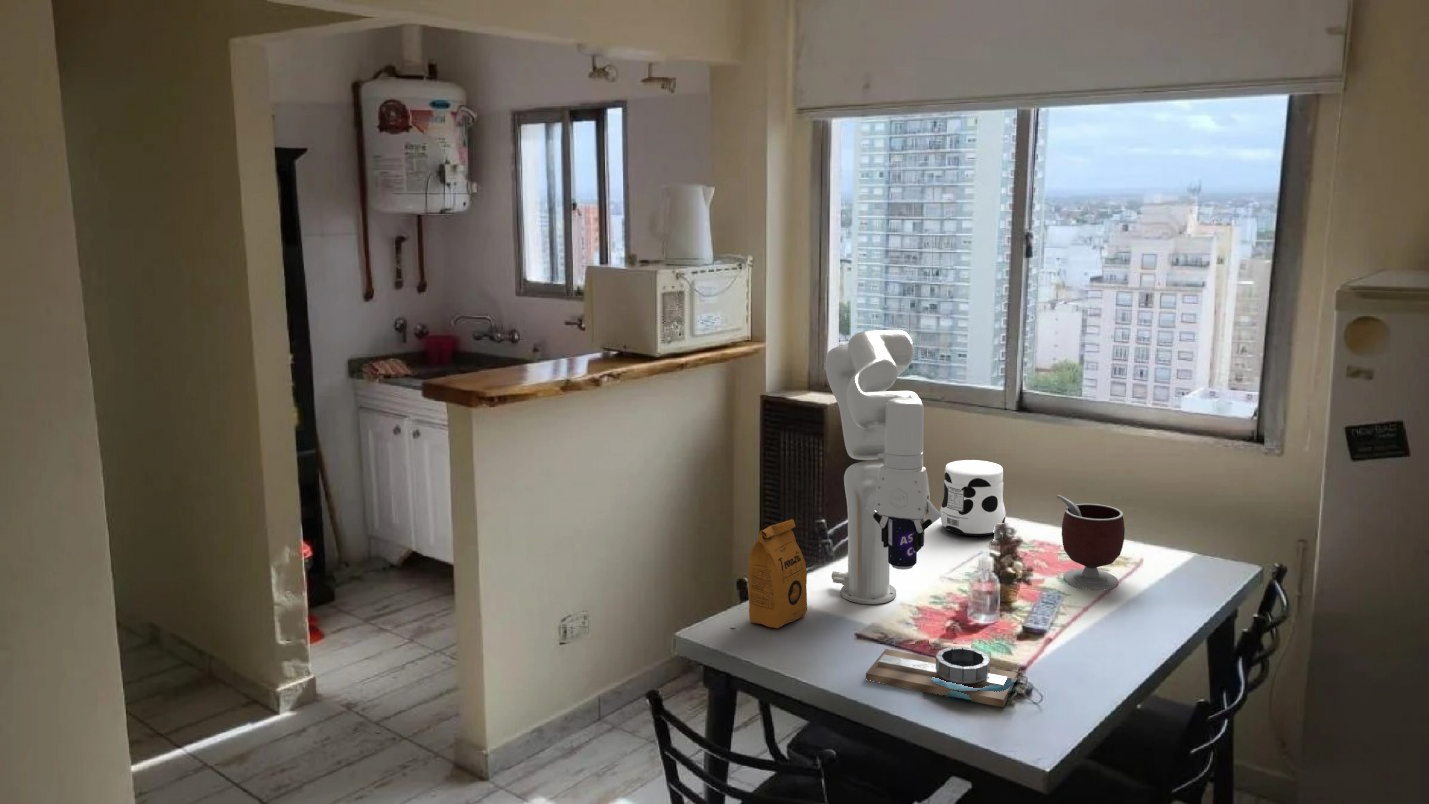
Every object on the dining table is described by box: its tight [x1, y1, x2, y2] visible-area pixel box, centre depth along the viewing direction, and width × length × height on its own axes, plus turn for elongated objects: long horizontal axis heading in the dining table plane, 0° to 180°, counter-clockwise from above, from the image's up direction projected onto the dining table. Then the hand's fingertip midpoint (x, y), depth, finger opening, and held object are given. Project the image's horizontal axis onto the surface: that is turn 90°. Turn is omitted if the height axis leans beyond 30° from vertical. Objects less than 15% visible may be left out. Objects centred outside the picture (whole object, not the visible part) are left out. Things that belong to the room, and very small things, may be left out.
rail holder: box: [878, 646, 1007, 687], centre depth 201 cm, size 24×10×4 cm, turn 63°
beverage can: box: [888, 517, 918, 570], centre depth 213 cm, size 6×6×12 cm
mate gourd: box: [1056, 494, 1126, 591], centre depth 250 cm, size 16×14×20 cm
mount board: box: [865, 648, 1018, 708], centre depth 202 cm, size 26×12×2 cm, turn 63°
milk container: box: [939, 459, 1007, 537], centre depth 288 cm, size 17×17×18 cm
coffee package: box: [747, 518, 808, 629], centre depth 230 cm, size 10×12×22 cm
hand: (902, 546), depth 213 cm, fingers closed on beverage can, 5 cm apart
